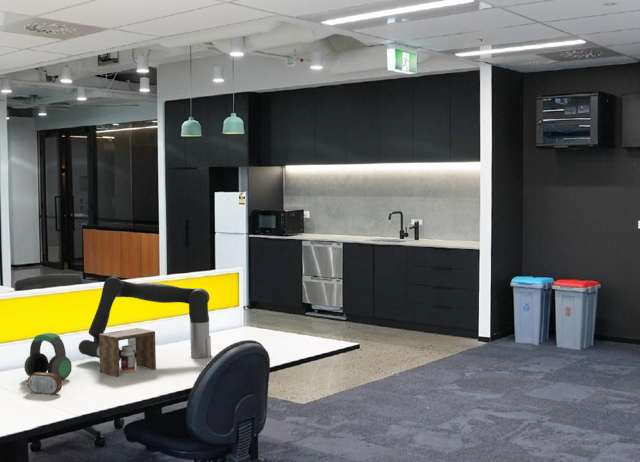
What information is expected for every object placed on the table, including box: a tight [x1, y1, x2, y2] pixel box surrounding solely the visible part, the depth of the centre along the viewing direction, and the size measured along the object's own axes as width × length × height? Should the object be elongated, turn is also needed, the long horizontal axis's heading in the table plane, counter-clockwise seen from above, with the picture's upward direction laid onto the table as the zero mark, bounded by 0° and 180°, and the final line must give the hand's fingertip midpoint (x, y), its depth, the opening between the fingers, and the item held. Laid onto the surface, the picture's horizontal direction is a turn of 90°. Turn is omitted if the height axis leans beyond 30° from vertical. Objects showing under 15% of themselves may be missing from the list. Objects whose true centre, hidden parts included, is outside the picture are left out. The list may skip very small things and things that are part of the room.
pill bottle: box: [120, 344, 136, 373], centre depth 364 cm, size 6×6×11 cm
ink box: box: [127, 338, 136, 353], centre depth 397 cm, size 9×5×12 cm, turn 56°
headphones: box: [23, 332, 72, 381], centre depth 350 cm, size 19×11×20 cm, turn 65°
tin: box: [27, 372, 63, 395], centre depth 324 cm, size 15×3×8 cm, turn 71°
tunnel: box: [99, 327, 157, 378], centre depth 363 cm, size 14×20×18 cm
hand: (128, 356), depth 364 cm, fingers open, 8 cm apart
